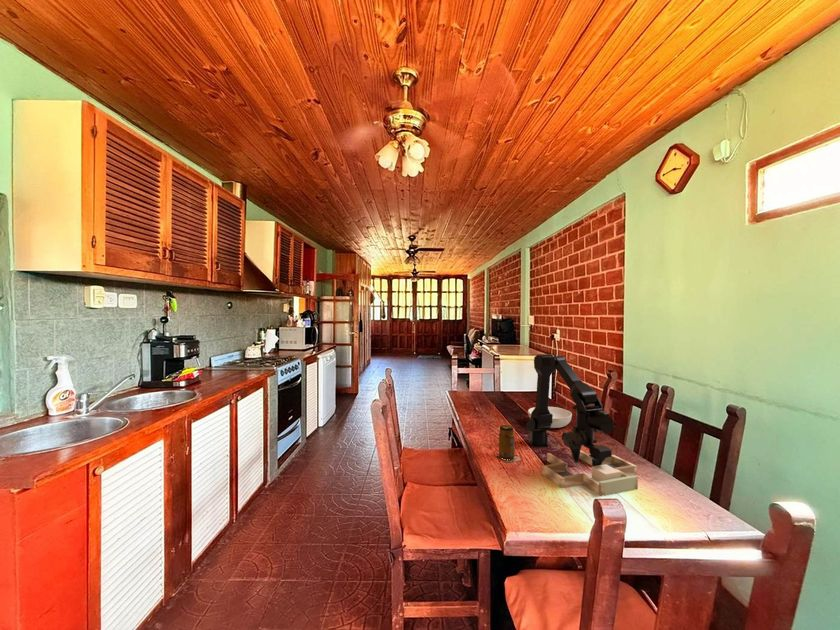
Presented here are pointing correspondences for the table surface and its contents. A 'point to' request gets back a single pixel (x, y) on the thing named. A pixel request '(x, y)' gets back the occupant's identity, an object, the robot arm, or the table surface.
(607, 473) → the block
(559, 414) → the serving bowl
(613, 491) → the box
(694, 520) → the table surface
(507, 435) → the condiment
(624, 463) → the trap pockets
